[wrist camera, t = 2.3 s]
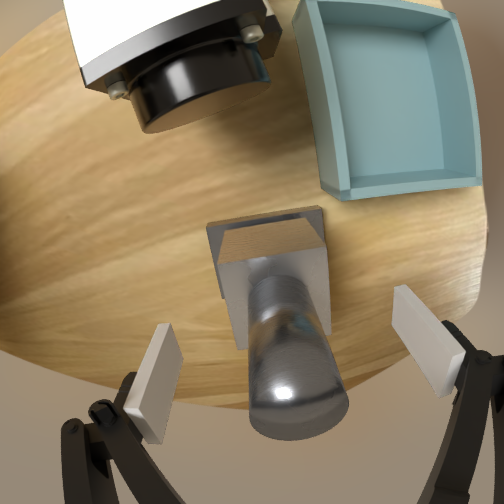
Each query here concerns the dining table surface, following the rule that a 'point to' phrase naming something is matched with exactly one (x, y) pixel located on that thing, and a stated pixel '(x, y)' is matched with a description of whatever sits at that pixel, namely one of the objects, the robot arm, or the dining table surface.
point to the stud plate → (218, 228)
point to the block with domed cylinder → (283, 327)
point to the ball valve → (174, 54)
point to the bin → (388, 97)
